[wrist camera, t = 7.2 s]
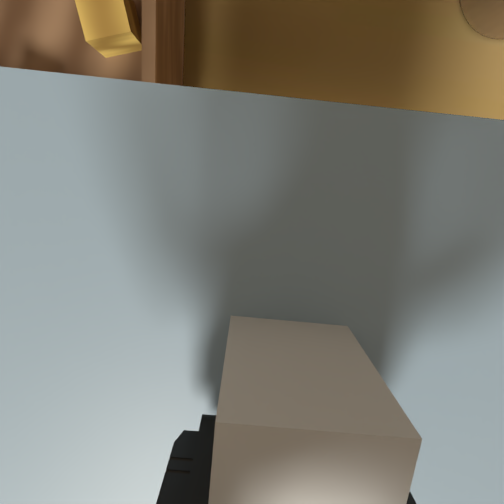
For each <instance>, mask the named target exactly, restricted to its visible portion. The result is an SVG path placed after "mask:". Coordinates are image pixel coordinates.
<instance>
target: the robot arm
mask: <svg viewBox="0 0 504 504" xmlns="http://www.w3.org/2000/svg"><path fill="white" fill-rule="evenodd" d="M460 3H461V7H462V11H463V14H464V16H465V18H466V20H467V21H468V23H469V24H470V25H471V26H472V28H473V29H474V30H475V31H477V32H478V33H480V34H481V35H483V36H486V37H489V38H492V39H504V0H460ZM215 421H216V415H207V414H202V417H201V422H200V427H199V431H189V430H184V431H183V432H182V433H181V434H180V435H179V437H178V438H177V439H176V440H175V441H174V444H173V447H172V451H171V454H170V458H169V461H168V464H167V468H166V472H165V475H164V478H163V482H162V485H161V488H160V492H159V495H158V499H157V502H156V504H208V502H209V490H210V478H211V467H212V455H213V443H214V431H215ZM406 504H416V502H415V500H414V498H413V496H412V494H411V492H409V495H408V499H407V503H406Z"/></svg>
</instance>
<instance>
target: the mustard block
mask: <svg viewBox="0 0 504 504" xmlns="http://www.w3.org/2000/svg"><path fill="white" fill-rule="evenodd" d="M75 3H76V7H77V10H78V14H79V18H80V22H81V25H82V29H83V33H84V37H85V40H86V42H87V43H89V44H90V45H91V46H92V47H93V48H95V49H96V50H97V51H98V52H99V53H100V54H102V55H103V56H104V57H105V58H108V57H112V56H117V55H122V54H127V53H131V52H136V51H141V50H142V33H141V29H140V25H139V20H138V16H137V12H136V8H135V3H134V2H133V0H75Z"/></svg>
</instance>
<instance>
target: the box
mask: <svg viewBox="0 0 504 504" xmlns="http://www.w3.org/2000/svg"><path fill="white" fill-rule="evenodd" d="M133 2H134V3H135V8H136V12H137V16H138V20H139V25H140V29H141V33H142V50H141V51H136V52H131V53H127V54H122V55H117V56H112V57H108V58H105V57H104V56H103V55H102V54H100V53H99V52H98V51H97V50H96V49H95V48H93V47H92V46H91V45H90V44H89V43H87V42H86V40H85V37H84V33H83V29H82V25H81V22H80V18H79V14H78V10H77V7H76V3H75V0H0V67H9V68H19V69H28V70H37V71H47V72H56V73H66V74H75V75H84V76H94V77H103V78H113V79H122V80H132V81H141V82H150V83H160V84H169V85H179V86H183V69H184V31H185V0H133Z"/></svg>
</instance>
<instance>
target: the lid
mask: <svg viewBox="0 0 504 504" xmlns="http://www.w3.org/2000/svg"><path fill="white" fill-rule="evenodd" d="M202 414H207V415H216V421H215V431H214V443H213V455H212V467H211V478H210V490H209V502H208V504H406V503H407V499H408V495H409V492H411V494H412V496H413V498H414V500H415V502H416V504H504V120H498V119H489V118H480V117H470V116H461V115H451V114H442V113H433V112H423V111H414V110H404V109H395V108H386V107H376V106H367V105H357V104H348V103H339V102H329V101H320V100H310V99H301V98H291V97H282V96H273V95H263V94H254V93H244V92H235V91H226V90H216V89H207V88H197V87H188V86H179V85H169V84H160V83H150V82H141V81H132V80H122V79H113V78H103V77H94V76H84V75H75V74H66V73H56V72H47V71H37V70H28V69H19V68H9V67H0V504H156V502H157V499H158V495H159V492H160V488H161V485H162V482H163V478H164V475H165V472H166V468H167V464H168V461H169V458H170V454H171V451H172V447H173V444H174V441H175V440H176V439H177V438H178V437H179V435H180V434H181V433H182V432H183V431H184V430H189V431H199V427H200V422H201V417H202Z"/></svg>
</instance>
